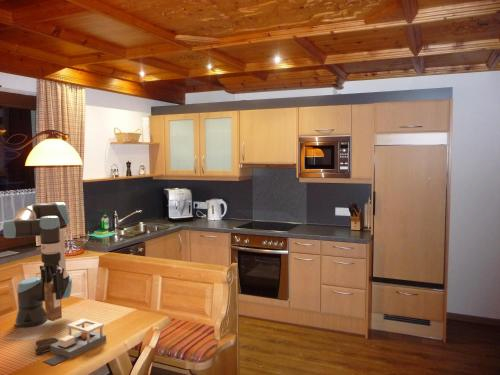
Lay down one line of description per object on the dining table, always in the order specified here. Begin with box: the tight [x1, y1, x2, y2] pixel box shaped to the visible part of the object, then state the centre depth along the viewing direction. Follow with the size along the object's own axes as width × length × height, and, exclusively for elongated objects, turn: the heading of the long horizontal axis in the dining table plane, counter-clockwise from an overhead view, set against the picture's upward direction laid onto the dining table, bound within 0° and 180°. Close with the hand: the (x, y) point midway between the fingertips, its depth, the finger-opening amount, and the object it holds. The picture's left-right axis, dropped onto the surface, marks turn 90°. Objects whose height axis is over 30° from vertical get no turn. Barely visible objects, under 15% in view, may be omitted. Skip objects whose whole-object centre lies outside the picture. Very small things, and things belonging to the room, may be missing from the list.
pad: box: [43, 354, 69, 367], centre depth 181 cm, size 7×7×1 cm
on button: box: [58, 334, 75, 348], centre depth 189 cm, size 4×5×3 cm
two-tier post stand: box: [49, 318, 107, 359], centre depth 194 cm, size 15×20×9 cm
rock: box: [34, 337, 59, 356], centre depth 192 cm, size 11×10×4 cm
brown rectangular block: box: [44, 281, 63, 322], centre depth 179 cm, size 4×4×16 cm
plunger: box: [80, 331, 90, 341], centre depth 198 cm, size 4×4×4 cm
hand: (53, 305), depth 179 cm, fingers closed on brown rectangular block, 4 cm apart
